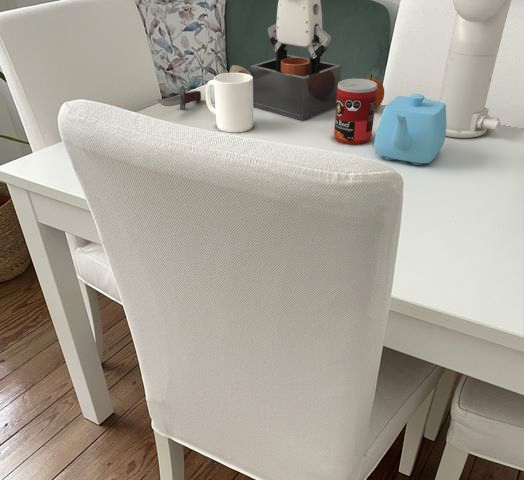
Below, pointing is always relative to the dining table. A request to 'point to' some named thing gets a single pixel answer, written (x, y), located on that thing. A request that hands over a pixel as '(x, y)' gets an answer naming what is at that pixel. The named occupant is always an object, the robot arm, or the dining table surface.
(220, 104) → the cup
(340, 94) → the canned food
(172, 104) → the knife
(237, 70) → the mug
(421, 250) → the dining table surface
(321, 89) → the dark grey open box
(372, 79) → the fruit
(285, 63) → the terracotta cup
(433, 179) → the dining table surface
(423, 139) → the teapot
